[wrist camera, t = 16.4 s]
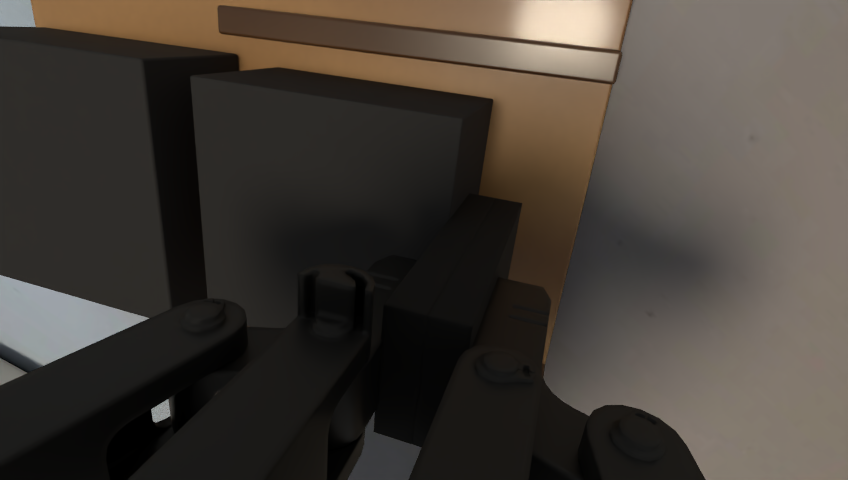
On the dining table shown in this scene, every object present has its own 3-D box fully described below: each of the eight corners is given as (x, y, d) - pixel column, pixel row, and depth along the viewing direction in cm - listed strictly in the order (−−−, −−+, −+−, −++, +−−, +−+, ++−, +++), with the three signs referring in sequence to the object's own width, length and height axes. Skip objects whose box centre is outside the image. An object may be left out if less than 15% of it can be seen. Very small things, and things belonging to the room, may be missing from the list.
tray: (535, 396, 19) (529, 437, 17) (108, 279, 24) (65, 301, 22) (633, -15, 14) (641, -23, 12) (49, -65, 18) (-16, -77, 16)
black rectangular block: (461, 307, 17) (428, 378, 14) (279, 263, 19) (208, 315, 15) (494, 98, 14) (463, 118, 11) (277, 66, 16) (189, 75, 12)
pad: (248, 273, 19) (172, 326, 16) (83, 231, 21) (-18, 270, 18) (238, 54, 16) (141, 58, 13) (45, 27, 18) (-88, 24, 15)
